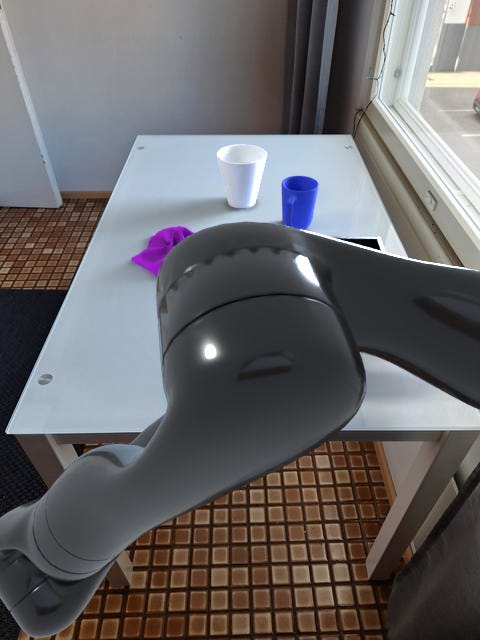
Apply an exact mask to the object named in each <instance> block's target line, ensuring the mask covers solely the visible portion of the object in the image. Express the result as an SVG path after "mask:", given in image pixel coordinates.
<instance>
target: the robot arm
mask: <svg viewBox="0 0 480 640" xmlns="http://www.w3.org/2000/svg"><path fill="white" fill-rule="evenodd" d="M193 233H194V234H192V235H190V236H188V237H186V238H185V239H184V240H182V241H181V242H180V243H178V244H177V245H176V246H174V247H173V248H172V249H171V251H170V252H169V253H168V254H167V256H166V257H165V258H164V260H163V262H162V264H161V266H160V268H159V272H158V276H157V277H156V286H155V303H156V318H157V335H158V347H159V359H160V371H161V382H162V390H163V393H164V396H165V399H166V403H167V405H166V410H165V413H164V414H162V415H161V416H159V417H158V418H157V419H155V421H153V422H152V423H150V424H149V425H147V427H145V428H144V429H143V430H142V431H141V432H140V433H139V434H138V435H137V436H136V438H134V439H133V440H132V441H131V442H129V443H128V444H126V443H112V444H105V445H101V446H98V447H96V448H92V449H90V450H88V451H86V452H85V453H83V454H81V455H80V456H78V457H77V458H76V459H74V460H73V461H72V462H71V463H70V464H69V465H68V466H67V467H66V468H65V469H64V470H63V471H62V472H61V473H60V475H58V477H57V478H56V479H55V480H54V482H53V483H52V484H51V485H50V487H49V488H48V489H47V490H46V491H45V493H44V494H43V495H42V496H41V497H40V498H39V497H38V498H36V499H33V500H31V501H28V502H26V503H23V504H20V505H19V506H17V507H15V508H13V509H11V510H10V511H8V512H6V513H5V514H3V515H2V516H1V517H0V600H1V601H2V603H3V604H4V606H6V609H7V610H8V611H9V612H10V614H11V616H12V618H13V619H14V620H15V622H16V623H17V625H18V626H19V627H20V629H21V630H22V631H23V632H24V633H25V634H26V635H27V636H29V637H31V638H35V639H43V638H48V637H52V636H54V635H57V634H59V633H61V632H63V631H64V630H66V629H67V628H68V627H69V626H71V625H72V624H73V623H74V622H75V621H76V620H77V619H78V618H79V616H81V614H82V612H83V611H84V610H85V608H86V607H87V605H88V604H89V603H90V601H91V600H92V598H93V597H94V595H95V594H96V592H97V590H98V588H99V587H100V585H101V584H102V583H103V581H104V579H105V578H106V576H107V574H108V573H109V571H110V570H111V568H112V567H113V565H114V564H115V563H116V561H117V560H118V558H119V557H120V555H121V554H122V553H123V552H124V551H125V550H126V549H128V548H129V547H130V546H131V545H132V544H133V543H135V542H136V541H137V540H139V539H140V538H142V537H143V536H144V535H147V534H148V533H149V532H151V531H153V530H154V529H156V528H158V527H160V526H163V525H164V524H167V523H169V522H171V521H173V520H175V519H178V518H179V517H182V516H184V515H187V514H189V513H191V512H193V511H195V510H198V509H200V508H202V507H204V506H207V505H209V504H211V503H213V502H216V501H217V500H218V501H219V500H220V499H222V498H224V497H226V496H228V495H230V494H231V493H234V492H236V491H237V490H240V489H242V488H244V487H246V486H248V485H250V484H252V483H254V482H256V481H258V480H260V479H262V478H265V477H266V476H269V475H270V474H272V473H274V472H276V471H279V470H281V469H283V468H285V467H286V466H289V465H291V464H292V463H294V462H296V461H298V460H299V459H301V458H303V457H305V456H307V455H309V454H310V453H311V452H313V451H315V450H317V449H319V448H320V447H321V446H322V445H324V444H325V443H326V442H328V441H330V440H331V439H332V438H333V437H335V436H336V435H337V434H339V433H340V432H341V431H342V430H344V428H346V427H347V425H349V423H350V422H351V421H352V420H353V419H354V418H355V416H356V415H357V414H358V412H359V410H360V409H361V407H362V406H363V405H362V404H363V402H364V400H365V398H366V394H367V390H368V389H367V387H368V383H367V379H368V378H367V371H366V367H365V364H364V360H363V357H362V354H365V355H368V356H372V357H375V358H378V359H380V360H383V361H386V362H388V363H390V364H392V365H394V366H396V367H398V368H400V369H402V370H404V371H405V372H407V373H408V374H411V375H412V376H415V377H416V378H418V379H420V380H421V381H423V382H425V383H427V384H428V385H431V386H432V387H434V388H436V389H438V390H439V391H441V392H443V393H445V394H447V395H449V396H450V397H453V398H454V399H456V400H458V401H460V402H462V403H463V404H466V405H468V406H470V407H471V408H474V409H475V410H479V411H480V269H479V270H478V269H473V268H467V267H461V266H454V265H447V264H441V263H436V262H429V261H423V260H418V259H413V258H409V257H404V256H400V255H396V254H392V253H390V252H389V253H388V252H386V251H385V252H386V253H385V252H381V251H378V250H374V249H370V248H367V247H363V246H360V245H356V244H352V243H349V242H345V241H342V240H338V239H335V238H331V237H327V236H328V235H324V234H320V233H317V232H313V231H310V230H305V229H297V228H293V227H289V226H286V225H285V224H279V223H272V222H261V221H237V222H226V223H219V224H217V225H212V226H209V227H206V228H203V229H200V230H197V232H193Z"/></svg>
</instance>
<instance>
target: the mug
mask: <svg viewBox="0 0 480 640" xmlns="http://www.w3.org/2000/svg"><path fill="white" fill-rule="evenodd" d="M319 187H320V183H319V181H317V180H316V179H315V178H314V177H310V176H307V175H292V176H288V177H286V178H284V179H283V180H282V181H281V219H282V222H283V225H285V226H289V227H293V228H297V229H301V230H304V229H306V228H308V227H309V226H310V225H311V224H312V221H313V218H314V213H315V208H316V202H317V199H318V192H319Z"/></svg>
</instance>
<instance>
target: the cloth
mask: <svg viewBox="0 0 480 640" xmlns="http://www.w3.org/2000/svg"><path fill="white" fill-rule="evenodd" d="M194 233H195V232H194V231H192V230H190V229H189V228H188V227H186V226H182V225H177V226H169V227H166V228H162V229H161V230H159V231H157V232H156V233H155V234H153V235H151V236H150V237H149V239H148V243H147V248H145V249H144V250H142V251H140V252H139V253H137V254H136V255H134V256H132V257H131V258H130V261H132V262H134V263H135V264H137V265H139V266H141V267H142V268H144V269H146V270H147V271H148V272H149V273H151V274H153V275H154V276H155V277H156V278H157V276H158V272H159V268H160V266H161V264H162V262H163V260H164V258H165V257H166V256H167V254H168V253H169V252H170V251H171V249H172V248H173V247H174V246H176V245H177V244H178V243H180V242H181V241H182V240H184V239H185V238H186V237H188V236H190V235H192V234H194Z"/></svg>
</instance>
